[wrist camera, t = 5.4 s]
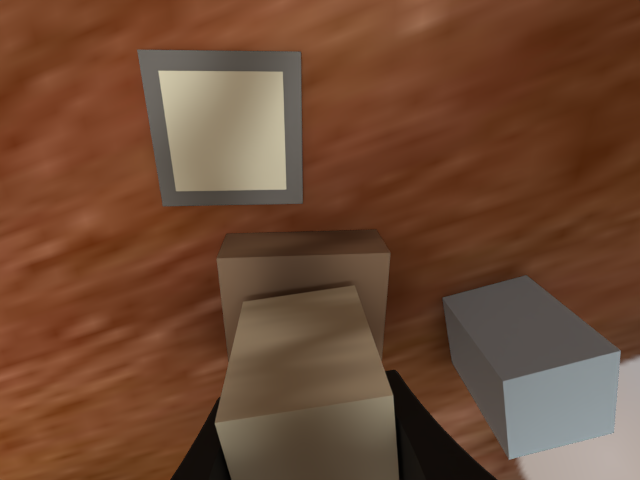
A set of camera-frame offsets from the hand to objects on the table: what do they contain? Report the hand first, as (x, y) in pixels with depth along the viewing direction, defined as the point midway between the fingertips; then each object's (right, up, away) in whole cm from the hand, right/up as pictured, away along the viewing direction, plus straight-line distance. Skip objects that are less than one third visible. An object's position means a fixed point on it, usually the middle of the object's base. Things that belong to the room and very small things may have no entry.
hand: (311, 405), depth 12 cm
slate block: (+9, +1, +8) cm, 12 cm away
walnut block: (-1, +3, +7) cm, 7 cm away
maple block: (0, +1, +3) cm, 4 cm away
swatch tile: (-3, +10, +3) cm, 11 cm away
